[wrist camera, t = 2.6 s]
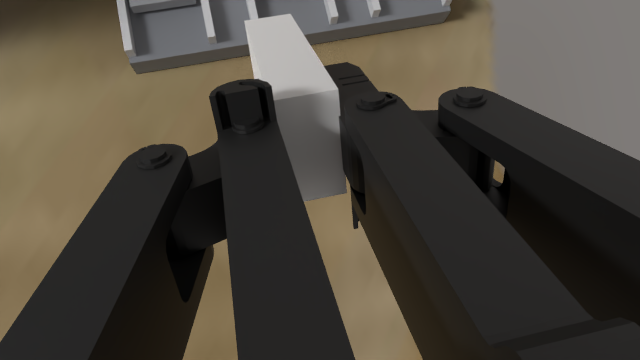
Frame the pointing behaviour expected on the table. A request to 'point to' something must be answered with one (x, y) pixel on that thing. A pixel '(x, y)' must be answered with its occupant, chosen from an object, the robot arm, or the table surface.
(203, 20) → the grey slotted tray
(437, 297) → the robot arm
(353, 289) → the table surface
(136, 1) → the grey slider
